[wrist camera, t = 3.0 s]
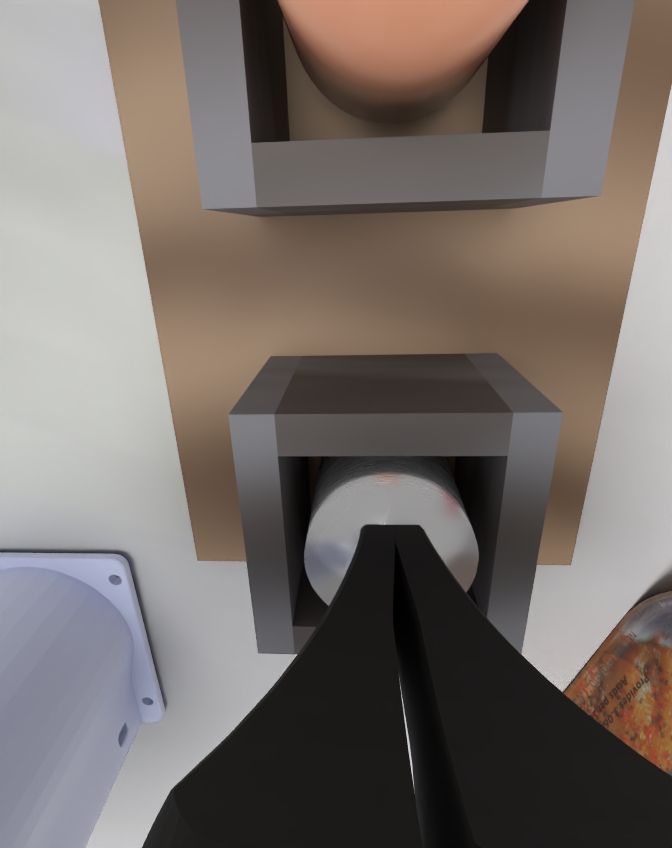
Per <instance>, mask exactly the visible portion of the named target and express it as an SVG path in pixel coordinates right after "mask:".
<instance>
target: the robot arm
mask: <svg viewBox="0 0 672 848" xmlns="http://www.w3.org/2000/svg"><path fill="white" fill-rule="evenodd" d="M115 575H117V576H119V577H120V578H118V577H116V576H115ZM399 678H400V681H399ZM400 684H401V690H400ZM401 691H402V697H403V703H404V709H405V716H406V722H407V728H408V734H409V741H410V749H411V757H412V766H413V778H414V787H413V780H412V773H411V766H410V759H409V752H408V745H407V737H406V729H405V722H404V714H403V706H402V698H401ZM164 713H165V707H164V703H163V699H162V695H161V691H160V687H159V683H158V679H157V675H156V671H155V667H154V663H153V659H152V655H151V651H150V647H149V643H148V639H147V635H146V631H145V627H144V623H143V619H142V615H141V611H140V607H139V603H138V599H137V595H136V591H135V587H134V583H133V579H132V575H131V571H130V567H129V563H128V561H127V560H126V559H125V558H124V557H123V556H121V555H118V554H85V553H0V848H85V847H86V844H87V842H88V840H89V838H90V835H91V833H92V831H93V829H94V826H95V824H96V822H97V820H98V818H99V815H100V813H101V811H102V809H103V806H104V804H105V802H106V800H107V797H108V795H109V793H110V791H111V789H112V786H113V784H114V782H115V780H116V777H117V775H118V773H119V771H120V768H121V766H122V764H123V762H124V760H125V757H126V755H127V753H128V751H129V748H130V746H131V744H132V742H133V739H134V737H135V735H136V733H137V731H138V728H139V726H140V724H141V722H148V723H155V722H159V721H161V719H162V718H163V716H164ZM414 791H415V794H414ZM142 848H672V776H671V775H669V774H668V773H666V772H665V771H663V770H662V769H660V768H659V767H657V766H656V765H655V764H653V763H652V762H650V761H649V760H647V759H646V758H644V757H643V756H642V755H640V754H639V753H638V752H636V751H635V750H634V749H632V748H631V747H630V746H628V745H627V744H626V743H624V742H623V741H622V740H621V739H619V738H618V737H617V736H615V735H614V734H613V733H611V732H610V731H609V730H607V729H606V728H605V727H604V726H602V725H601V724H600V723H598V722H597V721H596V720H595V719H593V718H592V717H591V716H590V715H588V714H587V713H586V712H585V711H584V710H582V709H581V708H580V707H579V706H578V705H577V704H575V703H574V702H573V701H572V700H571V699H570V698H568V697H567V696H566V695H565V694H564V693H563V692H561V691H560V690H559V689H558V688H557V687H556V686H554V685H553V684H552V683H551V682H550V681H549V680H547V679H546V678H545V677H544V676H543V675H542V674H541V673H540V672H539V671H538V670H537V669H536V668H535V667H534V666H533V665H532V664H531V663H529V662H528V661H527V660H526V659H525V658H524V657H523V656H522V655H521V654H520V653H519V652H518V651H517V650H516V649H515V648H514V647H513V646H512V645H511V644H510V643H509V641H508V640H507V639H506V638H505V637H504V636H503V635H502V634H501V633H500V632H499V631H498V630H497V629H496V627H495V626H494V625H493V624H492V623H491V622H490V621H489V619H488V618H487V617H486V616H485V615H484V614H483V612H482V611H481V610H480V609H479V608H478V607H477V605H476V604H475V603H474V602H473V600H472V599H471V598H470V597H469V595H468V594H467V593H466V592H465V590H464V589H463V588H462V586H461V585H460V584H459V582H458V581H457V580H456V578H455V577H454V576H453V574H452V573H451V571H450V570H449V569H448V567H447V566H446V564H445V563H444V561H443V560H442V558H441V557H440V555H439V554H438V552H437V551H436V549H435V548H434V546H433V544H432V543H431V541H430V539H429V538H428V536H427V534H426V532H425V530H424V529H423V528H422V527H421V526H420V525H377V524H365V525H364V526H363V527H362V528H361V530H360V536H359V540H358V544H357V547H356V550H355V553H354V555H353V558H352V561H351V563H350V565H349V567H348V570H347V572H346V574H345V576H344V578H343V581H342V583H341V585H340V587H339V589H338V591H337V592H336V594H335V596H334V598H333V600H332V602H331V603H330V605H329V607H328V609H327V611H326V612H325V614H324V616H323V617H322V619H321V621H320V622H319V624H318V626H317V627H316V629H315V630H314V632H313V633H312V635H311V636H310V638H309V639H308V641H307V642H306V644H305V645H304V646H303V648H302V649H301V651H300V652H299V654H298V655H297V656H296V657H295V659H294V660H293V661H292V663H291V664H290V665H289V667H288V668H287V669H286V671H285V672H284V673H283V674H282V676H281V677H280V678H279V680H278V681H277V682H276V683H275V684H274V686H273V687H272V688H271V689H270V690H269V692H268V693H267V694H266V695H265V696H264V697H263V698H262V699H261V701H260V702H259V703H258V704H257V705H256V706H255V707H254V708H253V709H252V710H251V711H250V713H249V714H248V715H247V716H246V717H245V718H244V719H243V720H242V721H241V722H240V724H239V725H238V726H237V727H236V728H235V729H234V730H233V731H232V732H231V733H230V734H229V735H228V736H227V737H226V738H225V739H224V740H223V741H222V742H221V743H220V744H219V745H218V746H217V747H216V748H215V749H214V750H213V751H212V752H211V753H210V754H209V755H208V756H206V757H205V758H204V759H203V760H202V761H201V762H200V763H199V764H198V765H197V766H196V767H195V768H194V769H193V770H192V771H191V772H190V773H188V774H187V775H186V776H185V777H184V778H183V779H182V780H181V781H180V782H179V783H178V784H177V785H176V786H175V787H174V788H173V789H172V790H171V791H170V793H169V795H168V797H167V798H166V800H165V802H164V804H163V806H162V808H161V810H160V812H159V814H158V816H157V817H156V819H155V821H154V823H153V825H152V827H151V830H150V832H149V834H148V836H147V838H146V840H145V842H144V844H143V847H142Z"/></svg>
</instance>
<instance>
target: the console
mask: <svg viewBox="0 0 672 848" xmlns="http://www.w3.org/2000/svg"><path fill="white" fill-rule="evenodd" d="M99 6H100V11H101V17H102V23H103V28H104V34H105V40H106V45H107V51H108V57H109V62H110V68H111V73H112V79H113V85H114V90H115V96H116V102H117V107H118V113H119V119H120V124H121V130H122V136H123V141H124V147H125V153H126V158H127V164H128V170H129V175H130V181H131V187H132V192H133V198H134V203H135V209H136V215H137V220H138V226H139V232H140V237H141V243H142V249H143V254H144V260H145V266H146V271H147V277H148V283H149V288H150V294H151V300H152V305H153V311H154V317H155V322H156V328H157V333H158V339H159V345H160V350H161V356H162V362H163V367H164V373H165V379H166V384H167V390H168V396H169V401H170V407H171V413H172V418H173V424H174V430H175V435H176V441H177V447H178V452H179V458H180V463H181V469H182V475H183V480H184V486H185V492H186V497H187V503H188V509H189V514H190V520H191V526H192V531H193V537H194V543H195V548H196V554H197V560H198V561H247V568H248V576H249V584H250V592H251V600H252V608H253V616H254V624H255V632H256V639H257V647H258V653H270V654H299V652H300V651H301V649H302V648H303V646H304V645H305V644H306V642H307V641H308V639H309V638H310V636H311V635H312V633H313V632H314V630H315V629H316V627H317V626H318V624H319V622H320V621H321V619H322V617H323V616H324V614H325V612H326V611H327V609H328V607H329V605H327V604H326V603H325V602H324V601H323V600H322V599H321V598H320V597H319V595H318V594H317V593H316V591H315V590H314V589H313V587H312V585H311V583H310V581H309V579H308V576H307V573H306V570H305V563H304V550H305V544H306V539H307V533H308V528H309V522H310V517H311V511H312V505H313V500H314V494H315V489H316V483H317V477H318V472H319V466H320V461H321V456H446V459H447V462H448V465H449V467H450V470H451V473H452V475H453V478H454V481H455V483H456V486H457V489H458V491H459V494H460V497H461V500H462V502H463V505H464V508H465V510H466V513H467V516H468V518H469V521H470V524H471V526H472V529H473V532H474V534H475V538H476V541H477V544H478V552H479V561H478V567H477V572H476V575H475V578H474V580H473V582H472V584H471V586H470V588H469V589H468V591H467V592H466V593H467V594H468V595H469V597H470V598H471V599H472V600H473V602H474V603H475V604H476V605H477V607H478V608H479V609H480V610H481V611H482V612H483V614H484V615H485V616H486V617H487V618H488V619H489V621H490V622H491V623H492V624H493V625H494V626H495V627H496V629H497V630H498V631H499V632H500V633H501V634H502V635H503V636H504V637H505V638H506V639H507V640H508V641H509V643H510V644H511V645H512V646H513V647H514V648H515V649H516V650H517V651H518V652H519V653H520V654H521V652H522V646H523V640H524V635H525V629H526V623H527V617H528V612H529V606H530V600H531V594H532V589H533V583H534V577H535V571H536V566H537V565H571V562H572V557H573V552H574V547H575V543H576V538H577V533H578V528H579V524H580V519H581V514H582V509H583V505H584V500H585V495H586V490H587V485H588V481H589V476H590V471H591V466H592V462H593V457H594V452H595V447H596V443H597V438H598V433H599V428H600V423H601V419H602V414H603V409H604V404H605V400H606V395H607V390H608V385H609V381H610V376H611V371H612V366H613V361H614V357H615V352H616V347H617V342H618V338H619V333H620V328H621V323H622V319H623V314H624V309H625V304H626V299H627V295H628V290H629V285H630V280H631V276H632V271H633V266H634V261H635V257H636V252H637V247H638V242H639V237H640V233H641V228H642V223H643V218H644V214H645V209H646V204H647V199H648V195H649V190H650V185H651V180H652V175H653V171H654V166H655V161H656V156H657V152H658V147H659V142H660V137H661V133H662V128H663V123H664V118H665V113H666V109H667V104H668V99H669V94H670V90H671V85H672V0H529V1H528V2H527V4H526V5H525V7H524V8H523V9H522V11H521V12H520V13H519V15H518V16H517V18H516V19H515V20H514V22H513V23H512V24H511V26H510V27H509V29H508V30H507V31H506V33H505V34H504V35H503V37H502V38H501V40H500V41H499V42H498V44H497V45H496V46H495V48H494V49H493V51H492V52H491V53H490V55H489V56H488V57H487V59H486V60H485V62H484V63H483V64H482V66H481V67H480V69H479V70H478V71H477V73H476V74H475V75H474V76H473V78H472V79H471V80H470V82H469V83H468V84H467V85H466V86H465V87H464V88H463V89H462V90H461V91H460V92H459V93H458V94H457V95H456V96H455V97H454V98H453V99H451V100H450V101H449V102H448V103H446V104H445V105H444V106H442V107H441V108H439V109H437V110H436V111H434V112H432V113H430V114H428V115H426V116H423V117H421V118H419V119H415V120H411V121H408V122H402V123H394V124H387V123H375V122H370V121H365V120H363V119H360V118H357V117H354V116H352V115H350V114H348V113H346V112H345V111H343V110H341V109H340V108H338V107H337V106H336V105H334V104H333V103H331V102H330V101H329V100H328V99H327V98H326V97H325V96H324V95H323V94H322V93H321V92H320V91H319V90H318V88H317V87H316V86H315V85H314V83H313V82H312V81H311V79H310V78H309V76H308V75H307V73H306V71H305V70H304V68H303V66H302V64H301V62H300V60H299V57H298V55H297V53H296V51H295V48H294V45H293V43H292V40H291V37H290V34H289V32H288V29H287V26H286V23H285V21H284V18H283V15H282V13H281V10H280V7H279V4H278V2H277V0H99Z"/></svg>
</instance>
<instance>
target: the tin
mask: <svg viewBox="0 0 672 848" xmlns="http://www.w3.org/2000/svg"><path fill="white" fill-rule="evenodd" d="M564 694H565V695H566V696H567V697H568V698H570V699H571V700H572V701H573V702H574V703H575V704H577V705H578V706H579V707H580V708H581V709H582V710H584V711H585V712H586V713H587V714H588V715H590V716H591V717H592V718H593V719H595V720H596V721H597V722H598V723H600V724H601V725H602V726H604V727H605V728H606V729H607V730H609V731H610V732H611V733H613V734H614V735H615V736H617V737H618V738H619V739H621V740H622V741H623V742H624V743H626V744H627V745H628V746H630V747H631V748H632V749H634V750H635V751H636V752H638V753H639V754H640V755H642V756H643V757H644V758H646V759H647V760H649V761H650V762H652V763H653V764H655V765H656V766H657V767H659V768H660V769H662V770H663V771H665V772H666V773H668V774H669V775H671V776H672V591H669V592H665V593H661V594H658V595H655V596H653V597H650V598H648V599H646V600H644V601H643V602H641V603H640V604H638V605H637V606H635V607H634V608H633V609H631V610H630V611H629V612H628V613H627V614H626V615H625V616H624V617H623V619H622V620H621V621H620V622H619V623H618V625H617V626H616V627H615V628H614V630H613V631H612V632H611V634H610V635H609V636H608V637H607V639H606V640H605V641H604V643H603V644H602V645H601V647H600V648H599V649H598V650H597V651H596V653H595V654H594V655H593V657H592V658H591V659H590V661H589V662H588V663H587V665H586V666H585V667H584V668H583V669H582V671H581V672H580V673H579V675H578V676H577V677H576V678H575V680H574V681H573V682H572V683H571V685H570V686H569V687H568V688H567V690H566V691H565V692H564Z"/></svg>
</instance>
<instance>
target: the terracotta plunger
mask: <svg viewBox="0 0 672 848" xmlns="http://www.w3.org/2000/svg"><path fill="white" fill-rule="evenodd" d="M528 1H529V0H277V2H278V4H279V7H280V10H281V13H282V15H283V18H284V21H285V23H286V26H287V29H288V32H289V34H290V37H291V40H292V43H293V45H294V48H295V51H296V53H297V55H298V57H299V60H300V62H301V64H302V66H303V68H304V70H305V71H306V73H307V75H308V76H309V78H310V79H311V81H312V82H313V83H314V85H315V86H316V87H317V88H318V90H319V91H320V92H321V93H322V94H323V95H324V96H325V97H326V98H327V99H328V100H329V101H330V102H331V103H333V104H334V105H336V106H337V107H338V108H340V109H341V110H343V111H345V112H346V113H348V114H350V115H352V116H354V117H357V118H360V119H363V120H365V121H370V122H375V123H387V124H394V123H402V122H408V121H411V120H415V119H419V118H421V117H423V116H426V115H428V114H430V113H432V112H434V111H436V110H437V109H439V108H441V107H442V106H444V105H445V104H446V103H448V102H449V101H450V100H451V99H453V98H454V97H455V96H456V95H457V94H458V93H459V92H460V91H461V90H462V89H463V88H464V87H465V86H466V85H467V84H468V83H469V82H470V80H471V79H472V78H473V76H474V75H475V74H476V73H477V71H478V70H479V69H480V67H481V66H482V64H483V63H484V62H485V60H486V59H487V57H488V56H489V55H490V53H491V52H492V51H493V49H494V48H495V46H496V45H497V44H498V42H499V41H500V40H501V38H502V37H503V35H504V34H505V33H506V31H507V30H508V29H509V27H510V26H511V24H512V23H513V22H514V20H515V19H516V18H517V16H518V15H519V13H520V12H521V11H522V9H523V8H524V7H525V5H526V4H527V2H528Z"/></svg>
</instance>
